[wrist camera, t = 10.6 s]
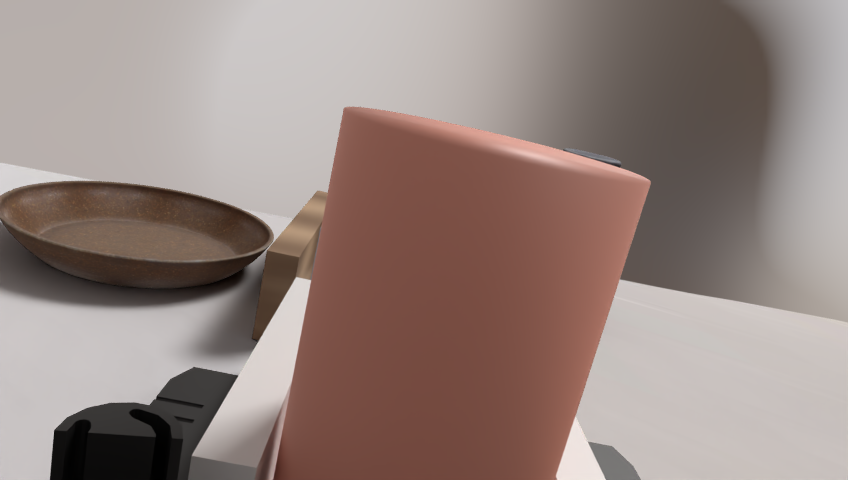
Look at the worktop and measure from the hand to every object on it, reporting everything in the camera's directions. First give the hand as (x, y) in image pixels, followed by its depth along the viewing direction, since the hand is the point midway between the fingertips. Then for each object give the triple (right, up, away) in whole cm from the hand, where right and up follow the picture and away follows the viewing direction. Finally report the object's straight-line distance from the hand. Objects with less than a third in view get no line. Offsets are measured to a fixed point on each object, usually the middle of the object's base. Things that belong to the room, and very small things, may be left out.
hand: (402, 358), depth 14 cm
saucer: (-17, +1, +23) cm, 28 cm away
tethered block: (-2, -6, +5) cm, 8 cm away
